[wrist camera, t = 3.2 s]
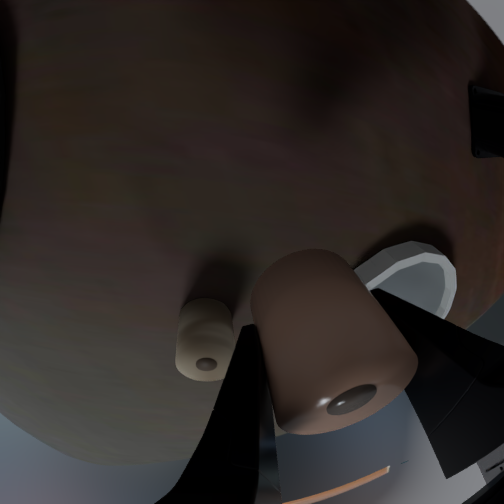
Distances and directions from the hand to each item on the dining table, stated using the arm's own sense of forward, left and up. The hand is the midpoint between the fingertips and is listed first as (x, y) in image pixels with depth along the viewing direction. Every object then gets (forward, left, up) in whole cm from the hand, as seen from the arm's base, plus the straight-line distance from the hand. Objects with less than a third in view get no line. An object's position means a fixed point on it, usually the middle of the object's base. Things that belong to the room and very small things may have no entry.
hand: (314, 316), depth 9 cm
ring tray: (-10, +12, -9) cm, 18 cm away
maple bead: (+6, +7, -9) cm, 13 cm away
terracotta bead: (0, 0, -1) cm, 1 cm away
